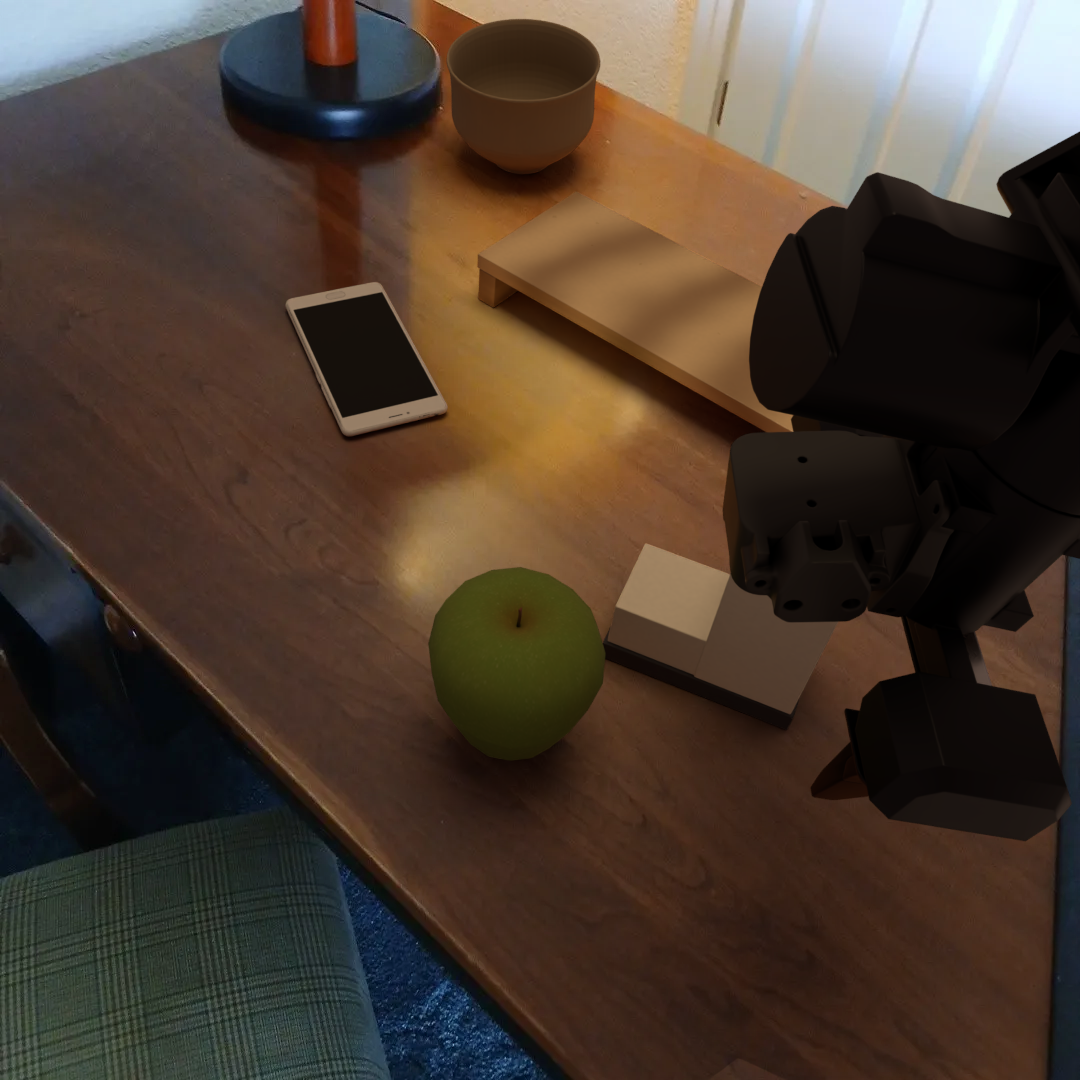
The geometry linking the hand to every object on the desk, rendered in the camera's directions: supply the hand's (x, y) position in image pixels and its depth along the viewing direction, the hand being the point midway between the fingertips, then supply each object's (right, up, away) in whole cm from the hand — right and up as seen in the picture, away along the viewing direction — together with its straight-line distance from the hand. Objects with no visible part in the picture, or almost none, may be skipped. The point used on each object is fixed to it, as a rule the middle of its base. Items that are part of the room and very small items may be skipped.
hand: (803, 696), depth 45 cm
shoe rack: (-1, +21, +33) cm, 39 cm away
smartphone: (-24, +20, +30) cm, 43 cm away
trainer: (-2, 0, +16) cm, 16 cm away
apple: (-13, -4, +12) cm, 18 cm away
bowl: (-13, +40, +48) cm, 64 cm away
